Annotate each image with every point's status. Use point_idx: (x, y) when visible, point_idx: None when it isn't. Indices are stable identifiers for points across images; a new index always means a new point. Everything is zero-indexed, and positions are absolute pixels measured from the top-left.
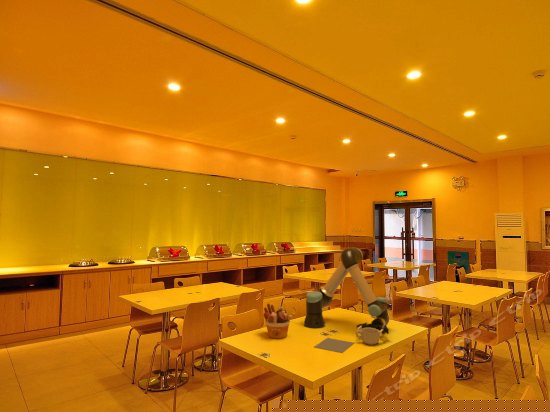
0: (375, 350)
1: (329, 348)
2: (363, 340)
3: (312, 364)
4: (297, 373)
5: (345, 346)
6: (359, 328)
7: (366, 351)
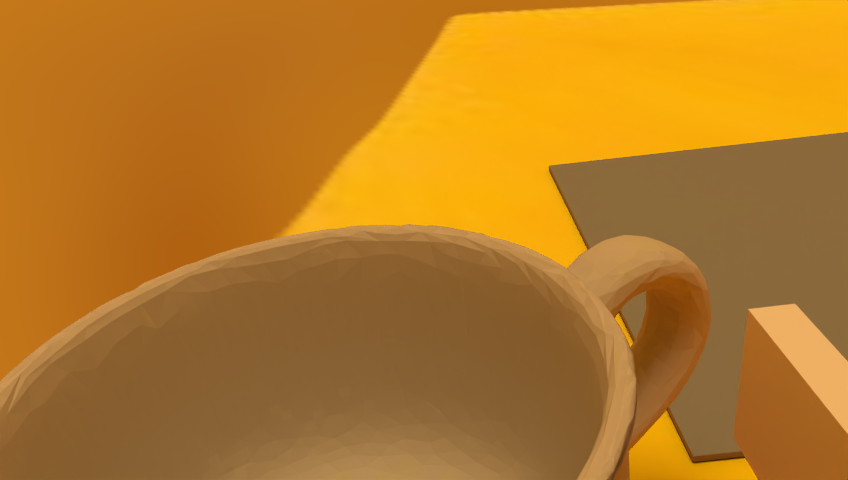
0: None
1: (748, 164)
2: (476, 429)
3: (582, 45)
4: (562, 10)
5: None
6: (808, 416)
7: None
